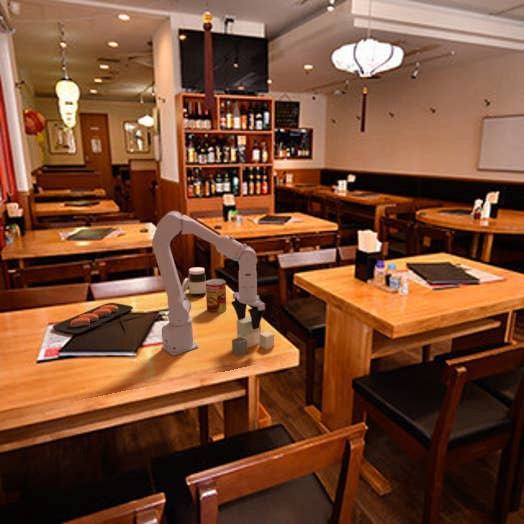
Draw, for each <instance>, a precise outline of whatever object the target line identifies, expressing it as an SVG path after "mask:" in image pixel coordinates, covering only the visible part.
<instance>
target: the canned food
mask: <svg viewBox="0 0 524 524" xmlns="http://www.w3.org/2000/svg"><path fill="white" fill-rule="evenodd" d="M226 282H227V281H226V280H225V279H223V278H211V279H208V280H206V294H205V295H206V311H207V312H208V313H210V314H222V313H224V312H226V311H227V308H228V307H227V284H226Z"/></svg>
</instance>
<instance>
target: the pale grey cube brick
mask: <svg viewBox="0 0 524 524" xmlns="http://www.w3.org/2000/svg"><path fill="white" fill-rule="evenodd" d="M259 338H260V343H259V347H261V348H262V349H265V350H269V349H271V348H274V347H275V334H274V333H272V332H271V331H268V330H266V331H263V332H261V333H260V334H259Z"/></svg>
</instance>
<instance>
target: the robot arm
mask: <svg viewBox="0 0 524 524" xmlns="http://www.w3.org/2000/svg"><path fill="white" fill-rule="evenodd" d="M180 232H181V235H187V234H193V235H194V236H197V237H199V238H200V239H202V240H204V241H206V242H208V243H210V244H212V245H214V246H215V249H216V251H217V252H218V253H220V254H221V255H224V256H226V257H227V258H228V259H231V260H232V261H234V262H235V261H236V262H238V266H239V270H238V292H237V291H236V292H233V293H232V299H233V301H231V305H232V307H233V308H234V312H235V314H236V317H237V320H240V319H243V318H246V316H247V315H246V312H247V311H248V313H249V315H250V316H251V320H252V328H253V329H257V328H259V325H261V322H262V319H263V316H264V314H265V312H266V311H267V309H266V308H267V307H266V303H264V302H263V301H261V299H260V295H257V294H258V288H257V287H258V284H257V283H258V280H257V279H258V278H257V277H258V276H257V275H258V274H257V273H258V272H257V263H258V257H257V254H256V253H257V252H256V251H255V249H254V248H252V246H250V245H247V244H246V243H241V242H239V241H237V240H236V239H234V236H233V235H227V234H224V235H219V234H218V233H216V232H214V231H213V230H211V229H209V228H208V227H206V226H205V225H203V224H201V223H200V222H198V221H197V220H195V219H194V218H191V217H190V216H188V215H186V214H182V213H181V212H179V211H177V210H171V211H169V212H167V213H166V214H165V215H164V216H163V217H162V218H161V219H160V220H159V221H158V223H157V224H156V228H155V231H154V235H153V237H152V240H151V246H152V249H153V253H154V255H155V259H156V262H157V265H158V269H159V273H160V275H161V276H160V277H161V279H162V280H161V281H162V282H163V286H164V288H165V294H166V296H167V308H168V314H167V316H168V317H167V318H168V321H169V322H168V323H167V324H164V325H163V326H162V328H161V340H162V341H161V342H162V345H161V348H162V349H163V350H165V351H166V352H167V353H169V354H170V355H171V356H176V355H179V354H183V353H185V352H188V351H191V350H195V349H197V348H198V349H199V345H198V344H197V343H195V342H194V333H193V319H192V317H191V316H190V312H191V309H192V303H191V302H190V300H189V299H188V298H187V297H186V292H185V293H184V292H183V290H182V287H181V286H182V284H181V280H180V277H179V274H178V270H177V267H176V264H175V260H174V257H173V254H172V249H171V245H170V243H171V241H172V240H173V239H174V237H176V236H177V235H178V234H179V233H180ZM247 306H251V307H252V308H249V309H248V310H247ZM250 316H249V317H250Z"/></svg>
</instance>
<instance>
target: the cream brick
mask: <svg viewBox="0 0 524 524" xmlns="http://www.w3.org/2000/svg"><path fill="white" fill-rule="evenodd" d="M259 334H260V331H258V332H255V333H252V334H249V335H246V336H242V335H240V334H238V333H237V332H236V338H239V337H242V338H244V339H245V340H247V349H248V348H250V347H253V346H256V345H260V338H259Z"/></svg>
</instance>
